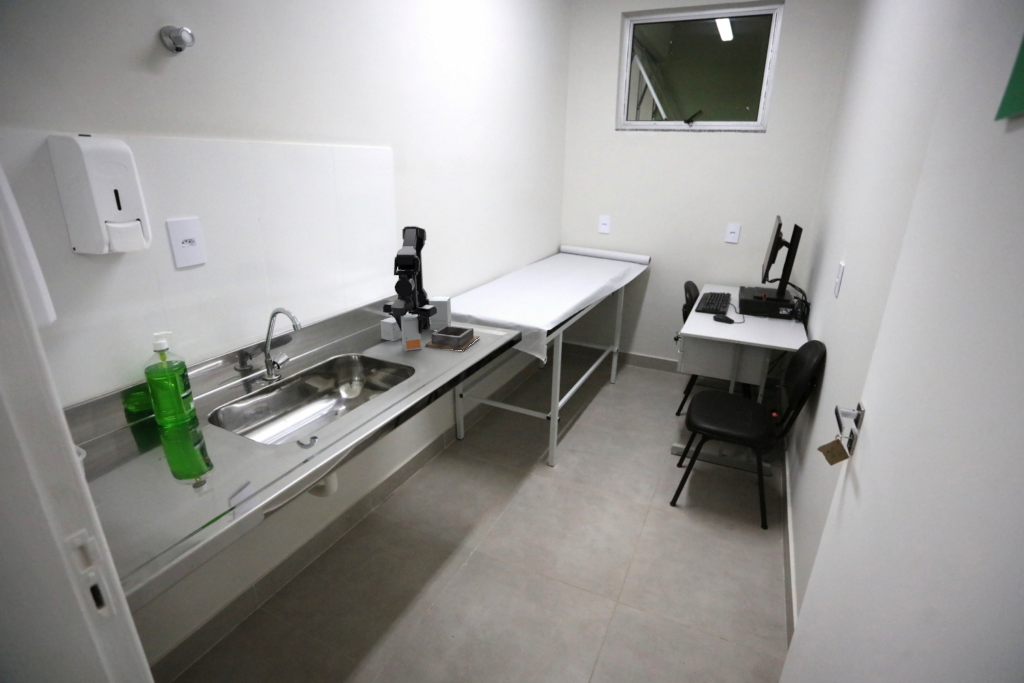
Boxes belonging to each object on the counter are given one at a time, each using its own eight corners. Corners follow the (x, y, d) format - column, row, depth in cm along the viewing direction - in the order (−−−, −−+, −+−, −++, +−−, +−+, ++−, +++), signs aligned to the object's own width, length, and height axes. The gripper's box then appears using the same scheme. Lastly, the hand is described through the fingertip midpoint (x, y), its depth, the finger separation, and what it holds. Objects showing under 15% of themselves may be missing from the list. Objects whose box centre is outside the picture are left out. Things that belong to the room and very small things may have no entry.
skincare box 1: (393, 341, 189) (392, 323, 187) (381, 339, 192) (379, 320, 190) (404, 337, 194) (403, 318, 192) (392, 334, 197) (391, 316, 195)
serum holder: (425, 346, 184) (424, 334, 183) (444, 334, 197) (443, 323, 196) (463, 351, 179) (462, 339, 178) (479, 338, 193) (479, 327, 191)
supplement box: (452, 326, 208) (451, 296, 204) (448, 331, 201) (447, 301, 197) (434, 325, 208) (433, 295, 204) (430, 331, 201) (428, 300, 197)
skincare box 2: (405, 351, 179) (402, 319, 175) (402, 347, 183) (400, 315, 179) (422, 349, 181) (419, 316, 177) (419, 345, 185) (417, 313, 181)
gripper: (371, 292, 171) (375, 336, 176) (420, 297, 165) (423, 342, 170) (389, 285, 181) (393, 327, 186) (436, 289, 175) (438, 332, 180)
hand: (411, 332), depth 180 cm, fingers closed on skincare box 2, 7 cm apart
